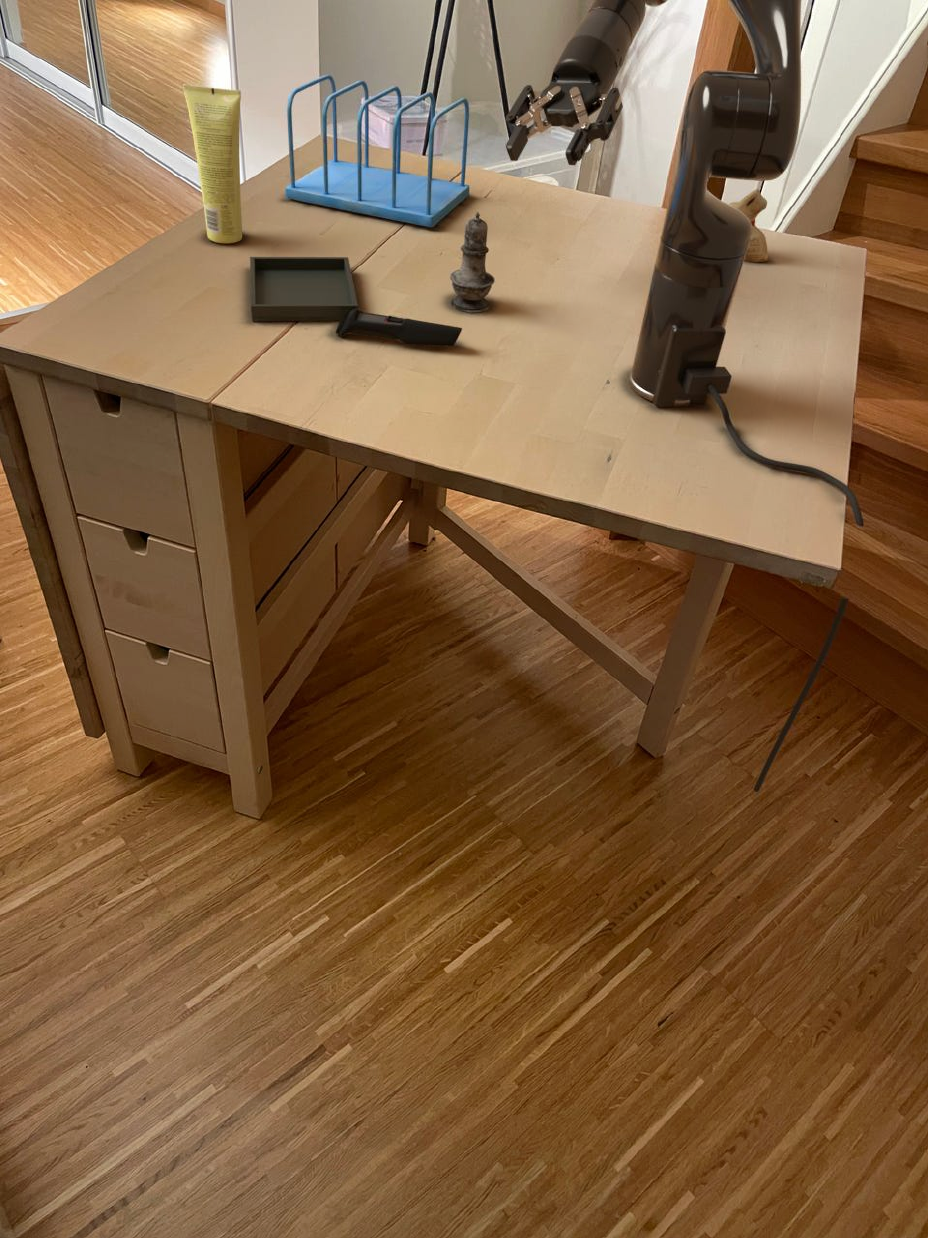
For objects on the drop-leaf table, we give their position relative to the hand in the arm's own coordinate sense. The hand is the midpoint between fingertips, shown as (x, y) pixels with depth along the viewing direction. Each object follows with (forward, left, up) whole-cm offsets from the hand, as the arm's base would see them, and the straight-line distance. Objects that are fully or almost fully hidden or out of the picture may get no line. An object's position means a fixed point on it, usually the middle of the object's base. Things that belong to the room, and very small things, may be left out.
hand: (539, 157), depth 116 cm
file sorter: (+35, +16, -17) cm, 42 cm away
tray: (-1, +30, -17) cm, 35 cm away
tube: (+18, +40, -17) cm, 47 cm away
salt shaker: (-4, +8, -17) cm, 20 cm away
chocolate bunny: (+13, -38, -17) cm, 43 cm away
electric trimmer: (-14, +19, -17) cm, 30 cm away
